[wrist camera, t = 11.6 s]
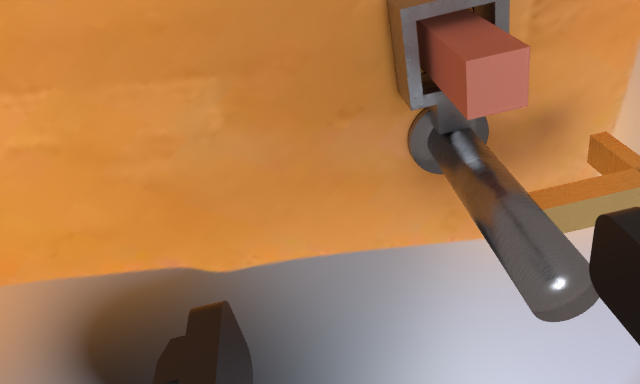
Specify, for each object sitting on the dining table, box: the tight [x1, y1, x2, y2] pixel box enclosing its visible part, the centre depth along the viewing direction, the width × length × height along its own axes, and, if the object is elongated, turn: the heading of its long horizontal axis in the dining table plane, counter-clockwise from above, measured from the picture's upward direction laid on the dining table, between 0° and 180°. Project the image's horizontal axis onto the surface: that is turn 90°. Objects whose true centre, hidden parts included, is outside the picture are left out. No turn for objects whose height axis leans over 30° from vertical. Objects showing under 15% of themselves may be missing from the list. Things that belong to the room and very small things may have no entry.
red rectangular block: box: [416, 9, 530, 120], centre depth 34 cm, size 4×4×11 cm
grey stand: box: [387, 0, 640, 322], centre depth 32 cm, size 16×14×20 cm
